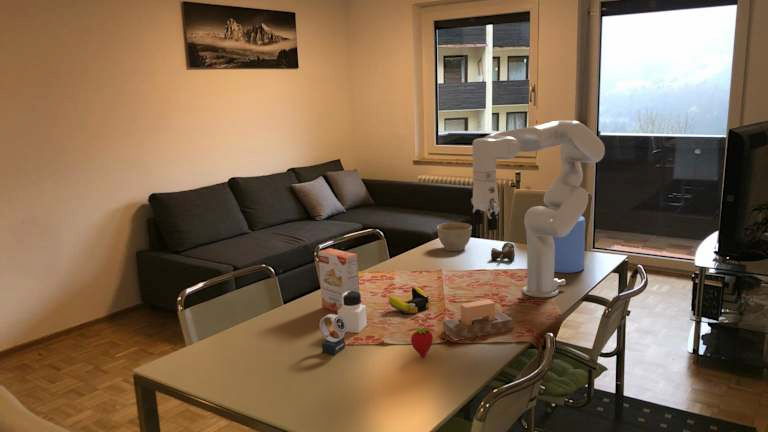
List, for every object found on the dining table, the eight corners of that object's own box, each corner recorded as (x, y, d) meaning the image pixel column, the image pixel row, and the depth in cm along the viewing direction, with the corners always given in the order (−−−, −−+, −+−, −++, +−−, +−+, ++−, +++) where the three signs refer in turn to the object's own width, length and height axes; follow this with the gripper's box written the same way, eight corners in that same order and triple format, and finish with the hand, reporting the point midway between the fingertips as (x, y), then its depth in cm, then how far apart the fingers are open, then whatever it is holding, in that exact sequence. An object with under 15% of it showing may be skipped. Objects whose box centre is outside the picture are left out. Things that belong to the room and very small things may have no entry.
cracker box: (321, 308, 219) (317, 251, 215) (333, 303, 223) (330, 247, 219) (348, 316, 209) (345, 257, 205) (361, 311, 214) (358, 253, 209)
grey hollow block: (499, 321, 200) (499, 310, 199) (512, 329, 192) (512, 319, 192) (443, 331, 193) (443, 321, 193) (454, 341, 186) (454, 330, 185)
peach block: (489, 326, 196) (489, 299, 194) (495, 330, 193) (494, 302, 191) (461, 331, 193) (460, 304, 191) (466, 335, 190) (465, 307, 188)
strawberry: (407, 360, 174) (406, 327, 172) (418, 349, 181) (417, 317, 179) (426, 363, 172) (425, 329, 170) (437, 353, 178) (436, 320, 176)
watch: (340, 356, 179) (338, 320, 177) (317, 351, 183) (314, 316, 180) (350, 349, 184) (348, 314, 181) (328, 344, 188) (325, 310, 185)
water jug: (588, 265, 255) (590, 198, 249) (578, 275, 242) (579, 205, 236) (551, 260, 263) (552, 196, 257) (539, 270, 250) (539, 202, 244)
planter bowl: (436, 253, 282) (435, 230, 280) (438, 244, 298) (438, 222, 295) (471, 253, 279) (471, 230, 277) (472, 244, 295) (472, 222, 293)
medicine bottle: (367, 325, 201) (365, 290, 199) (359, 333, 195) (357, 297, 192) (346, 323, 204) (344, 288, 201) (338, 331, 197) (336, 295, 195)
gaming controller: (386, 311, 213) (407, 318, 206) (385, 296, 212) (407, 302, 205) (415, 299, 224) (437, 305, 217) (415, 285, 222) (436, 290, 215)
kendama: (519, 254, 277) (511, 265, 259) (498, 253, 281) (488, 264, 263) (519, 241, 276) (511, 251, 258) (498, 240, 280) (488, 250, 262)
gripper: (508, 178, 196) (508, 231, 200) (482, 172, 212) (482, 221, 216) (487, 180, 194) (487, 233, 197) (462, 174, 210) (463, 223, 213)
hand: (485, 227), depth 207 cm, fingers open, 9 cm apart
